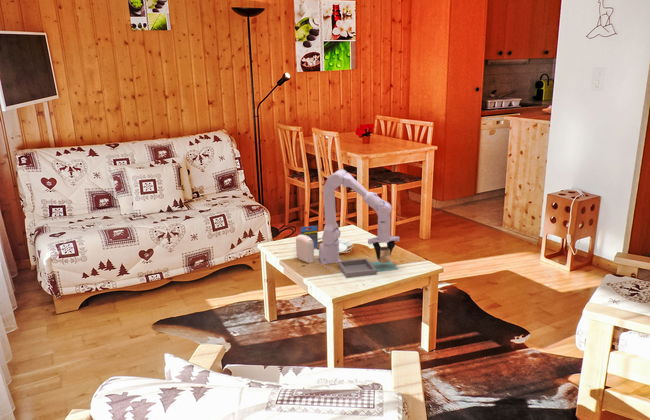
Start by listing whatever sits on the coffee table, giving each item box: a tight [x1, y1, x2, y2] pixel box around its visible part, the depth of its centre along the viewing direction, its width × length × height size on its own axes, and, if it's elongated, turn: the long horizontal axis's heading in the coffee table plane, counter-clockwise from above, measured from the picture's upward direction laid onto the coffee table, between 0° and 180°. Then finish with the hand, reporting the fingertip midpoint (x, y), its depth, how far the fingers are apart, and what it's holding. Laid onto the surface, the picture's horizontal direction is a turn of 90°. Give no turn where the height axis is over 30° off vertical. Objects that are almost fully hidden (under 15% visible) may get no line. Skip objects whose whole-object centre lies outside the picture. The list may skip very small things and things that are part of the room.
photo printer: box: [295, 234, 315, 264], centre depth 245 cm, size 10×4×12 cm, turn 39°
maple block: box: [376, 246, 391, 263], centre depth 236 cm, size 4×4×6 cm
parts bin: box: [337, 258, 378, 279], centre depth 233 cm, size 14×14×2 cm
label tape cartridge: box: [298, 225, 319, 249], centre depth 260 cm, size 9×4×12 cm, turn 107°
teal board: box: [369, 260, 399, 273], centre depth 237 cm, size 11×11×1 cm
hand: (383, 257), depth 236 cm, fingers closed on maple block, 4 cm apart
